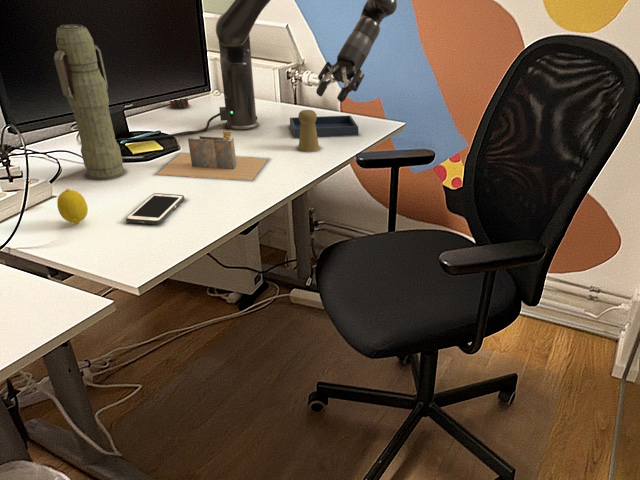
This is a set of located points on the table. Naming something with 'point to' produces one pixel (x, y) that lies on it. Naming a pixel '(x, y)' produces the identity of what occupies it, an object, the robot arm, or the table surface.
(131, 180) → the table surface
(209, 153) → the architectural model on board
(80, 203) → the lemon
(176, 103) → the black red jagged block
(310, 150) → the cork
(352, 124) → the pan
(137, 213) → the cell phone
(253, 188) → the table surface
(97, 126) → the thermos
